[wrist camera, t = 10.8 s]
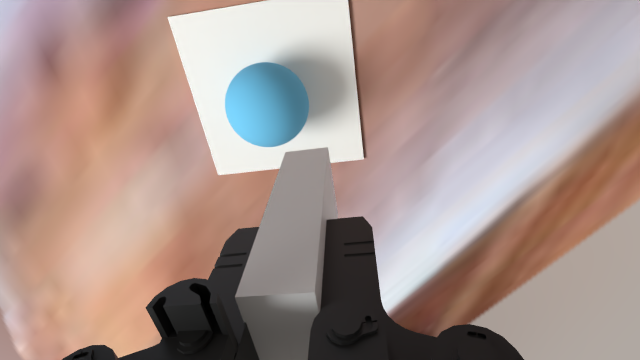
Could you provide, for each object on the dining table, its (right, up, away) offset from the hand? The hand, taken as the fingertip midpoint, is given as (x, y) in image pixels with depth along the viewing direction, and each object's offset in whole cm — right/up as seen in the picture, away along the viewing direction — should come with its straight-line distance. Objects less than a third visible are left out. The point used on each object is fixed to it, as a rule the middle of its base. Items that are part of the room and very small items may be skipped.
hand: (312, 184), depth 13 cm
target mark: (-3, +7, +13) cm, 15 cm away
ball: (-3, +5, +11) cm, 12 cm away
